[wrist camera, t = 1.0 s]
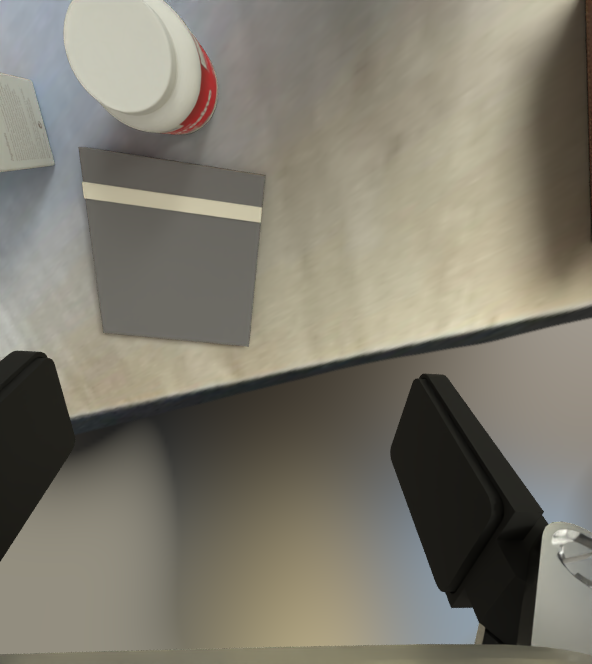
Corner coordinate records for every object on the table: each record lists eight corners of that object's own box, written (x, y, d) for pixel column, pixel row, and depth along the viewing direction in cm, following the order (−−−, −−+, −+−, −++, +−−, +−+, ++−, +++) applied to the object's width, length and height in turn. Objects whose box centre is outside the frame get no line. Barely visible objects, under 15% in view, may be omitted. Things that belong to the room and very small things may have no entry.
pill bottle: (167, 150, 27) (109, 155, 18) (114, 62, 24) (10, 10, 15) (235, 108, 26) (213, 89, 16) (188, 11, 23) (127, -80, 14)
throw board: (85, 147, 27) (77, 147, 26) (265, 175, 28) (265, 176, 27) (107, 327, 34) (102, 333, 33) (249, 341, 36) (248, 347, 35)
